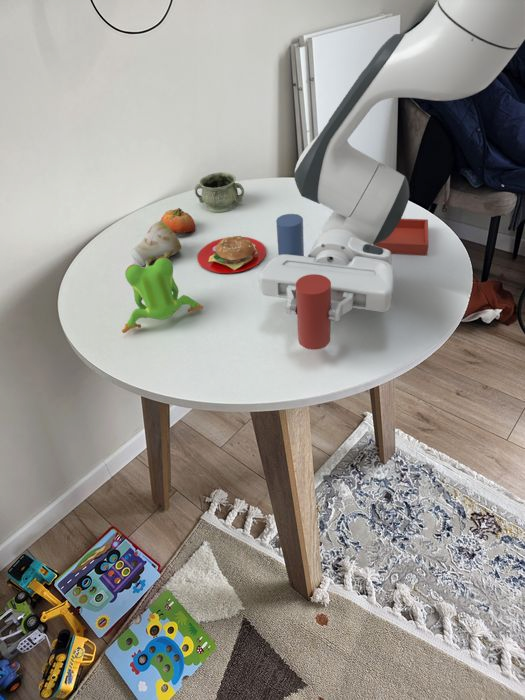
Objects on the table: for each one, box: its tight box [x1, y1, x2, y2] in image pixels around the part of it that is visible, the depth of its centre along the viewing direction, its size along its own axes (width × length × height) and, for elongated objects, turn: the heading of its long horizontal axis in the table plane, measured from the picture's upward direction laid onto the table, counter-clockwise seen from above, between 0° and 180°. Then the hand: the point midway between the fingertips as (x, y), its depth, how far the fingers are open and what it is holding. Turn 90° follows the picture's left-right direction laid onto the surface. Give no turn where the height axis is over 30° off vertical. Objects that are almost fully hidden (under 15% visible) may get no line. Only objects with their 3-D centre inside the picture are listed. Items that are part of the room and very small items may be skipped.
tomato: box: [160, 207, 196, 234], centre depth 108 cm, size 8×7×7 cm
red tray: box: [374, 218, 429, 256], centre depth 98 cm, size 10×10×2 cm
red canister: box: [296, 274, 332, 351], centre depth 70 cm, size 5×5×10 cm
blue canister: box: [275, 213, 305, 256], centre depth 91 cm, size 5×5×10 cm
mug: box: [130, 220, 182, 267], centre depth 99 cm, size 8×10×10 cm
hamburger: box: [197, 235, 267, 274], centre depth 97 cm, size 14×14×6 cm
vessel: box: [194, 172, 245, 213], centre depth 115 cm, size 12×9×6 cm
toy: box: [121, 257, 204, 334], centre depth 83 cm, size 14×9×10 cm, turn 112°
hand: (312, 313), depth 69 cm, fingers closed on red canister, 5 cm apart
